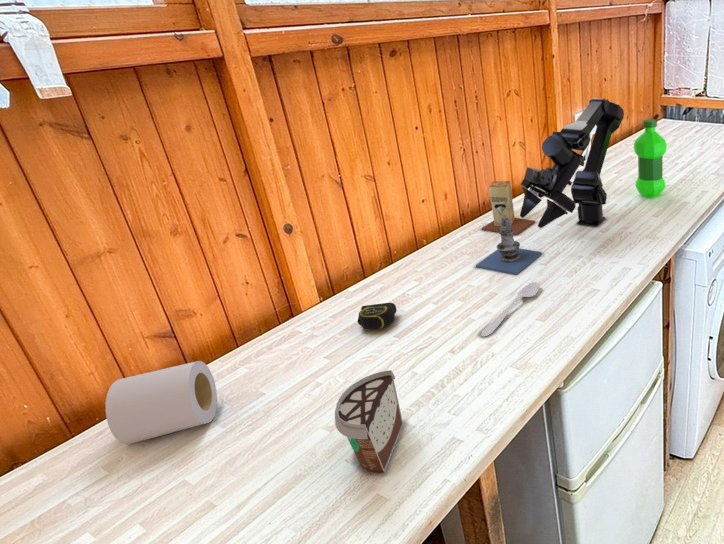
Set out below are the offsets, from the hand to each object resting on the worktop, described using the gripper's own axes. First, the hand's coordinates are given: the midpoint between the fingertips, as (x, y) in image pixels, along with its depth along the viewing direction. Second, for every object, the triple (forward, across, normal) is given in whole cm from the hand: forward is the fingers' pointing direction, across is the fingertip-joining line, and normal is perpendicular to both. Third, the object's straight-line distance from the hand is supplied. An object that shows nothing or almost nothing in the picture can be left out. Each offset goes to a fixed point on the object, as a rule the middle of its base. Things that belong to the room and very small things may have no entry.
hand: (529, 222), depth 134 cm
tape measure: (+36, +8, -24) cm, 43 cm away
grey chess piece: (+11, 0, +1) cm, 11 cm away
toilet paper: (+59, +17, -48) cm, 78 cm away
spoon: (+19, +22, -7) cm, 30 cm away
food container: (+43, +43, -31) cm, 68 cm away
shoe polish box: (+4, -22, +8) cm, 24 cm away
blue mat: (+11, 0, +1) cm, 11 cm away
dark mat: (+4, -20, +8) cm, 22 cm away
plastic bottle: (-30, -11, +43) cm, 53 cm away
